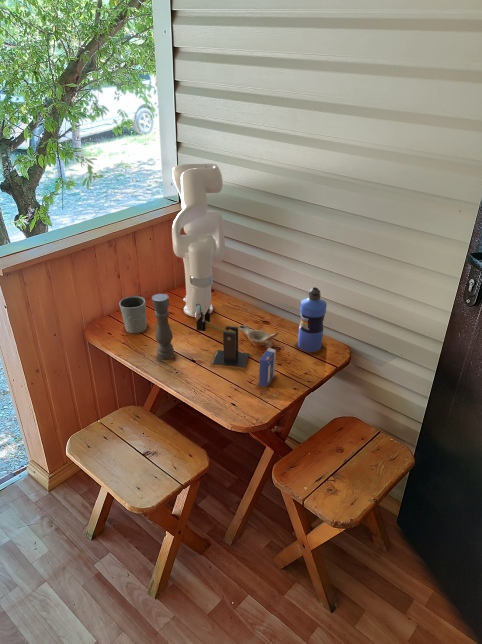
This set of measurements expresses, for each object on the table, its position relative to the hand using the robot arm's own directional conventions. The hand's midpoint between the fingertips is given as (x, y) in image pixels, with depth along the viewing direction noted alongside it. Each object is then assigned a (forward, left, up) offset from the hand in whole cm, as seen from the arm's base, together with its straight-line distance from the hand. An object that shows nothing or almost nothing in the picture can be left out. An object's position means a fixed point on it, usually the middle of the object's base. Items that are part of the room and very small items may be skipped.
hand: (203, 325), depth 169 cm
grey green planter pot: (-36, -6, -14) cm, 39 cm away
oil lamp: (+6, +22, -14) cm, 26 cm away
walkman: (+26, +6, -14) cm, 30 cm away
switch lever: (+4, +3, -1) cm, 5 cm away
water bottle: (+22, +34, -14) cm, 43 cm away
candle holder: (-10, -10, -14) cm, 20 cm away
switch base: (+8, +6, -14) cm, 17 cm away
